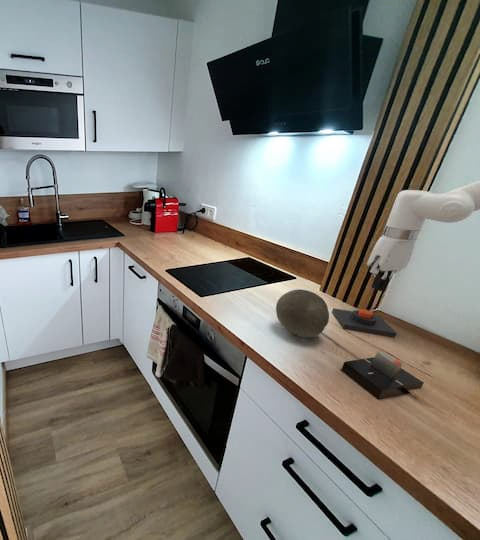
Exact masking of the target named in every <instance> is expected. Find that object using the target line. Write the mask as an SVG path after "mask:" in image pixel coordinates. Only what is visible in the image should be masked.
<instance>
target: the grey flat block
mask: <svg viewBox="0 0 480 540" xmlns="http://www.w3.org/2000/svg"><path fill="white" fill-rule="evenodd" d="M359 310H360V309H355V310H352V311H351V310H347V309H342V308H341V309H340V308H334V307H333V308H332V310H331V314H332V316H333V317H334V319H336V321H337V323H338V324H339V325H340V327H341V329H342V330H346V331H351V332H356V333H357V332H358V333H362V334H363V333H364V334H368V335H375V336H381V337H387V338H391V339H395V338H396V335H397V334H398V333H397V331H395V330H394V329H393V328H392V326H391V325H389V324H388V323H387V321H386V320H385V319H383V317H382V316H381V315H379V314H373V315H372V318H371V319H367V318H364V317H361V316H359V315H358V312H359Z"/></svg>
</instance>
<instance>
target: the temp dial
mask: <svg viewBox="0 0 480 540" xmlns="http://www.w3.org/2000/svg"><path fill="white" fill-rule="evenodd" d="M374 357H375V358H374V360H373V362H372V364H371V366H373V367H374V368H376V369H377V370H378V371H380V372H381V373H383V374H384V375H386V376H387V377H389V378H390V379H393V378H396V376H397V374H398V372H399V370H400V368H402V367H403V363H402V362H401V361H399V359H398V360H397V359H395V358H394V357H392V356H390V355H389V354H387V353H386V352H384V351H382V350H380V351H376V354H375V355H374Z"/></svg>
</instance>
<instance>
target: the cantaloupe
mask: <svg viewBox="0 0 480 540" xmlns="http://www.w3.org/2000/svg"><path fill="white" fill-rule="evenodd" d="M275 312H276V317H277V320H278V321H279V323H280V324H281V325H282V326H283V328H285V329H286V331H288V332H289V333H291V334H293V335H295V336H298V337H301V338H314V337H318V336H319V335H321V334H322V333H323V332H324V330H325V328H326V327H327V326H328V324H329V320H330V312H329V307H328V305H327V302H326V301H325V300H324V299H323V297H321V296H320V295H319V294H317V293H315V292H313V291H311V290H306V289H300V288H299V289H293V290H290V291H288V292H285V293H283V294H282V295H281V296H280V297H279V298H278V300H277V301H276V304H275Z"/></svg>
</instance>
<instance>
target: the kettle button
mask: <svg viewBox="0 0 480 540" xmlns="http://www.w3.org/2000/svg"><path fill="white" fill-rule="evenodd" d="M358 310H359V312H358V315H359V316H361V317H364V318H367V319H371V318H372V315H374V313H373V311H371V310H369V309H365V308H360V309H358Z"/></svg>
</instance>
